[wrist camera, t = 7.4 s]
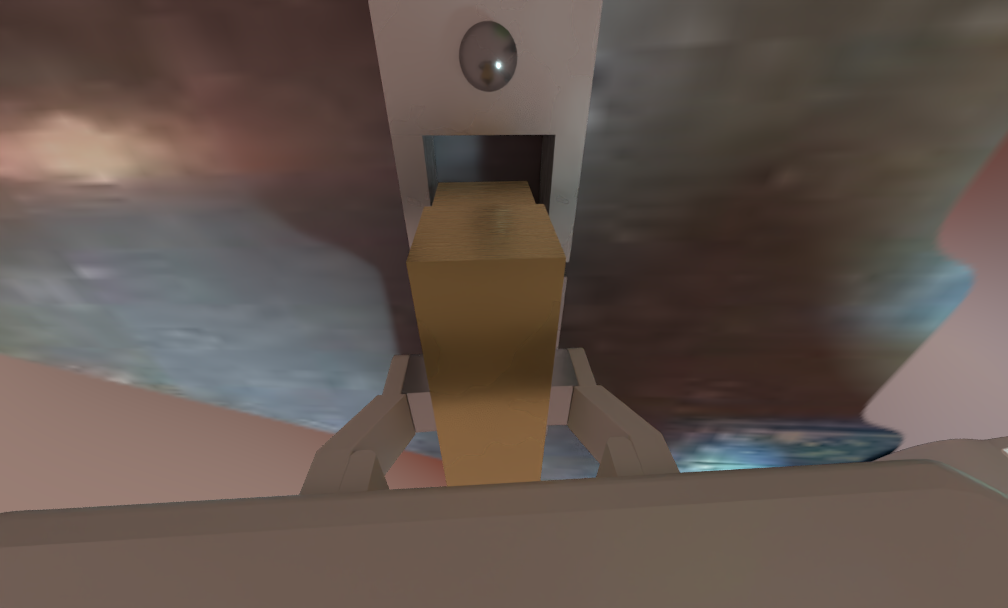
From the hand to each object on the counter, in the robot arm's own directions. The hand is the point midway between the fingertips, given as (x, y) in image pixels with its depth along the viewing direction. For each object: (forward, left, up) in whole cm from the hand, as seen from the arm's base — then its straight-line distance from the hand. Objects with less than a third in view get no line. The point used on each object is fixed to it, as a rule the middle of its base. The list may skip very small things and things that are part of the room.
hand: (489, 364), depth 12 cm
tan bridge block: (0, 0, -4) cm, 4 cm away
